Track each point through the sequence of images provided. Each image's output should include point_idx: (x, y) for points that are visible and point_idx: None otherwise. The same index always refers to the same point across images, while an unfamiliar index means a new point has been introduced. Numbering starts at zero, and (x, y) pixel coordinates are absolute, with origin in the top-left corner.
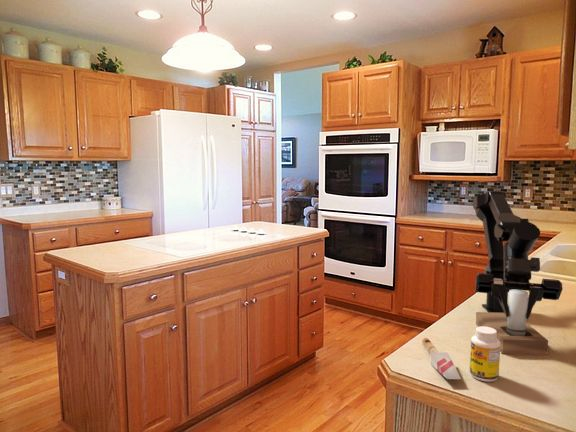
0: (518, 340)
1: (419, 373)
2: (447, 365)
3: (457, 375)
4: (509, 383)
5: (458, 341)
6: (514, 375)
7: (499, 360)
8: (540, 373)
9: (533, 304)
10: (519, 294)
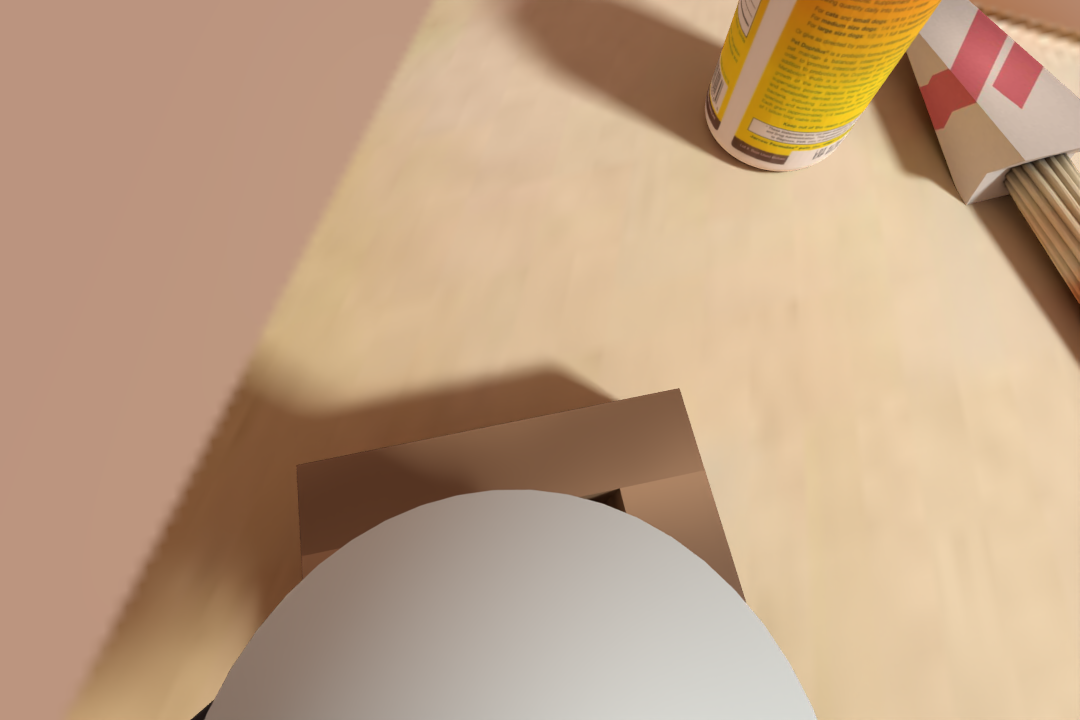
0: (552, 414)
1: (1068, 81)
2: (978, 56)
3: None
4: (653, 90)
5: (974, 577)
6: (618, 164)
7: (736, 9)
8: (476, 215)
9: (209, 704)
10: (542, 495)
